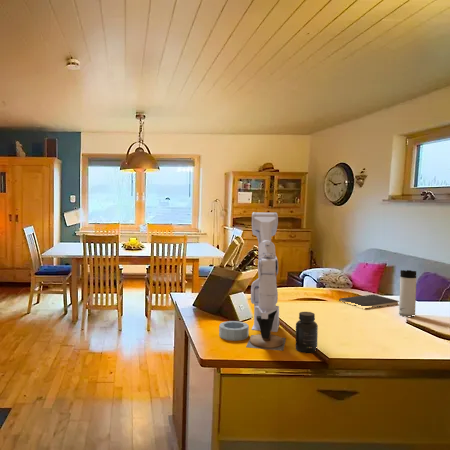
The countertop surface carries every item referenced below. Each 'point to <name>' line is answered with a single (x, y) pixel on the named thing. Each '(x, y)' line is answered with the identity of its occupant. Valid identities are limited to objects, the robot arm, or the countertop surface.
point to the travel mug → (407, 293)
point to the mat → (267, 348)
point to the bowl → (233, 330)
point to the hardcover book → (370, 300)
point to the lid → (266, 341)
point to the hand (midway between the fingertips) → (266, 334)
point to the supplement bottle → (306, 333)
